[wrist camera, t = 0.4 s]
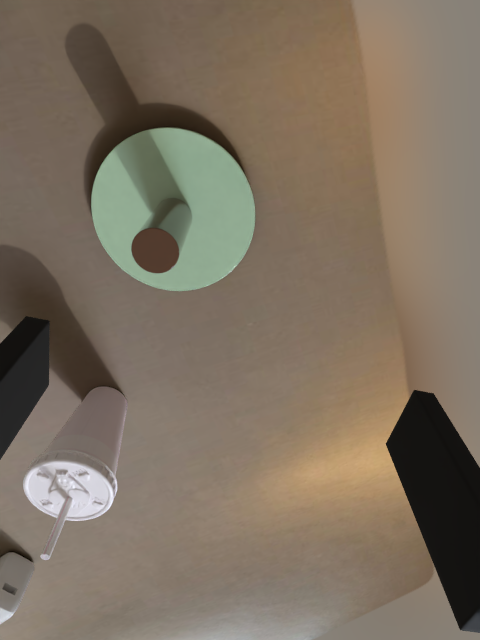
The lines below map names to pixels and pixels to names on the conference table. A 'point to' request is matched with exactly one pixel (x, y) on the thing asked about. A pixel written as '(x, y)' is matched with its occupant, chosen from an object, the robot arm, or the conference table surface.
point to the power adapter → (13, 582)
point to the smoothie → (79, 463)
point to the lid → (173, 208)
